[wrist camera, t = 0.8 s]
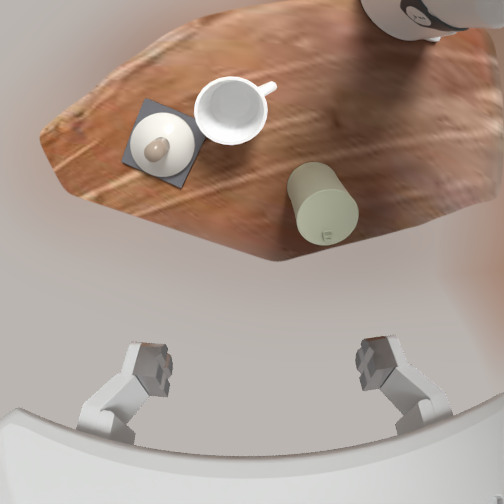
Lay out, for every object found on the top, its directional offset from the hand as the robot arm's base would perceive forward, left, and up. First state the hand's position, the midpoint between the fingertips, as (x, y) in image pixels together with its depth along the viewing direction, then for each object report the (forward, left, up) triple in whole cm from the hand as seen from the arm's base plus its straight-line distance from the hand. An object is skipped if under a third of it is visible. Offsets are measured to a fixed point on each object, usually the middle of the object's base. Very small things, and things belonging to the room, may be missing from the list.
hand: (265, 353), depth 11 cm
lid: (+8, -13, -38) cm, 40 cm away
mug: (-4, -5, -39) cm, 39 cm away
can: (+3, +13, -39) cm, 41 cm away
